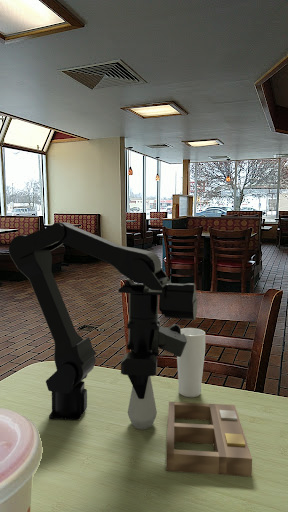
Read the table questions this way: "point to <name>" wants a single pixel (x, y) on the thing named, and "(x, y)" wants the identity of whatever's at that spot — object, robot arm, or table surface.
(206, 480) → the table surface
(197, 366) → the drinking glass
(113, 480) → the table surface
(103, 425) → the table surface
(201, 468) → the socket block
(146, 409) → the salt shaker
